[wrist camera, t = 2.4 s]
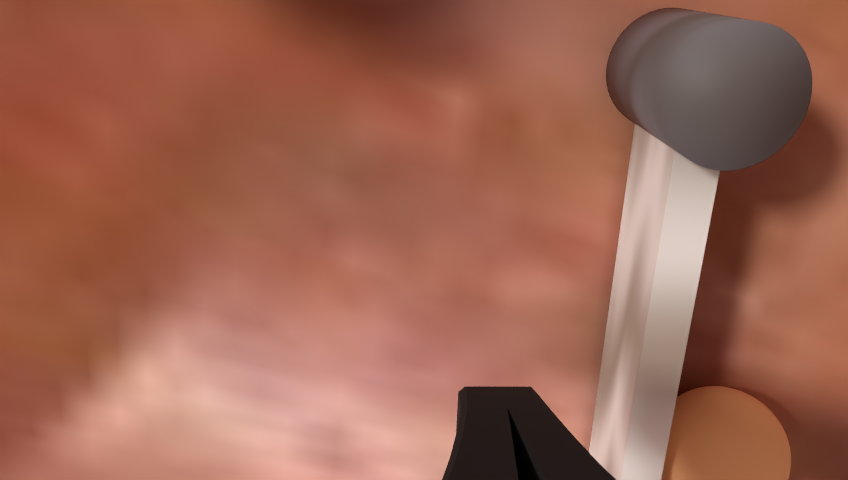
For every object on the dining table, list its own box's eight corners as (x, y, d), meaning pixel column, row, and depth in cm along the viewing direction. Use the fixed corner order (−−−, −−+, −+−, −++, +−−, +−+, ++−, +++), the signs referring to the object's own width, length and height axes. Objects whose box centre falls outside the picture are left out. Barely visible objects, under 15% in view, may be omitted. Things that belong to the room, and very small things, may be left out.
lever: (643, 502, 25) (692, 609, 21) (553, 503, 25) (585, 611, 20) (732, 9, 19) (827, 23, 15) (613, 6, 18) (676, 18, 14)
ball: (740, 460, 25) (801, 548, 21) (628, 460, 25) (670, 549, 21) (763, 362, 23) (833, 438, 20) (645, 361, 23) (693, 438, 19)
